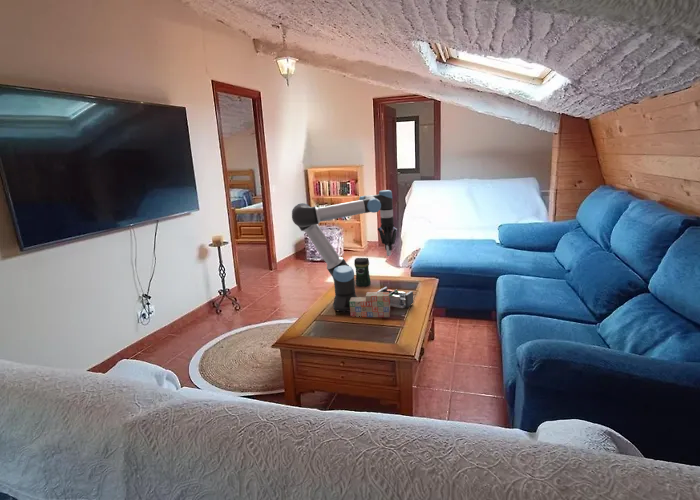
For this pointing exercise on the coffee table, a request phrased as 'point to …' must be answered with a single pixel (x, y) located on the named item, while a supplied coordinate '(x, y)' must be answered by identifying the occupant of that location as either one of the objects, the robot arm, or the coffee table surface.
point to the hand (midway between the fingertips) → (389, 255)
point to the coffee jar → (362, 271)
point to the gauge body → (395, 297)
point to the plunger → (405, 298)
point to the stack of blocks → (371, 305)
